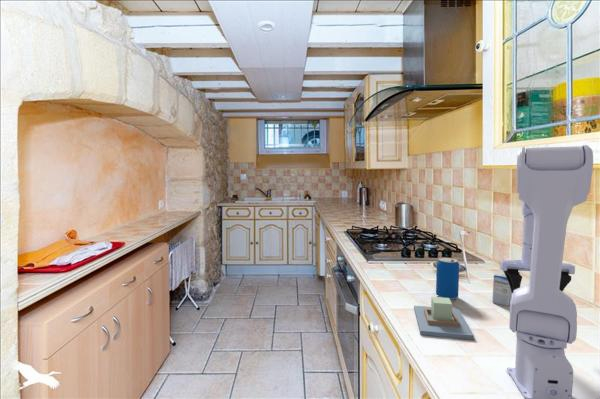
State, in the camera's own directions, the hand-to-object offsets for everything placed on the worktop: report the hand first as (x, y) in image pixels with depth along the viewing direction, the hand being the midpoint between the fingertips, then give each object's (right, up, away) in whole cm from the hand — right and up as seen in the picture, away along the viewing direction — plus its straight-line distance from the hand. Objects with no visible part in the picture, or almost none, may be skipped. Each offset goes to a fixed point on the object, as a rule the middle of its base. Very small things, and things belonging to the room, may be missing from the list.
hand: (534, 302), depth 80 cm
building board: (-17, -9, +11) cm, 22 cm away
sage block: (-17, -8, +11) cm, 22 cm away
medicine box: (+8, -8, +26) cm, 28 cm away
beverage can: (-8, -7, +29) cm, 31 cm away
